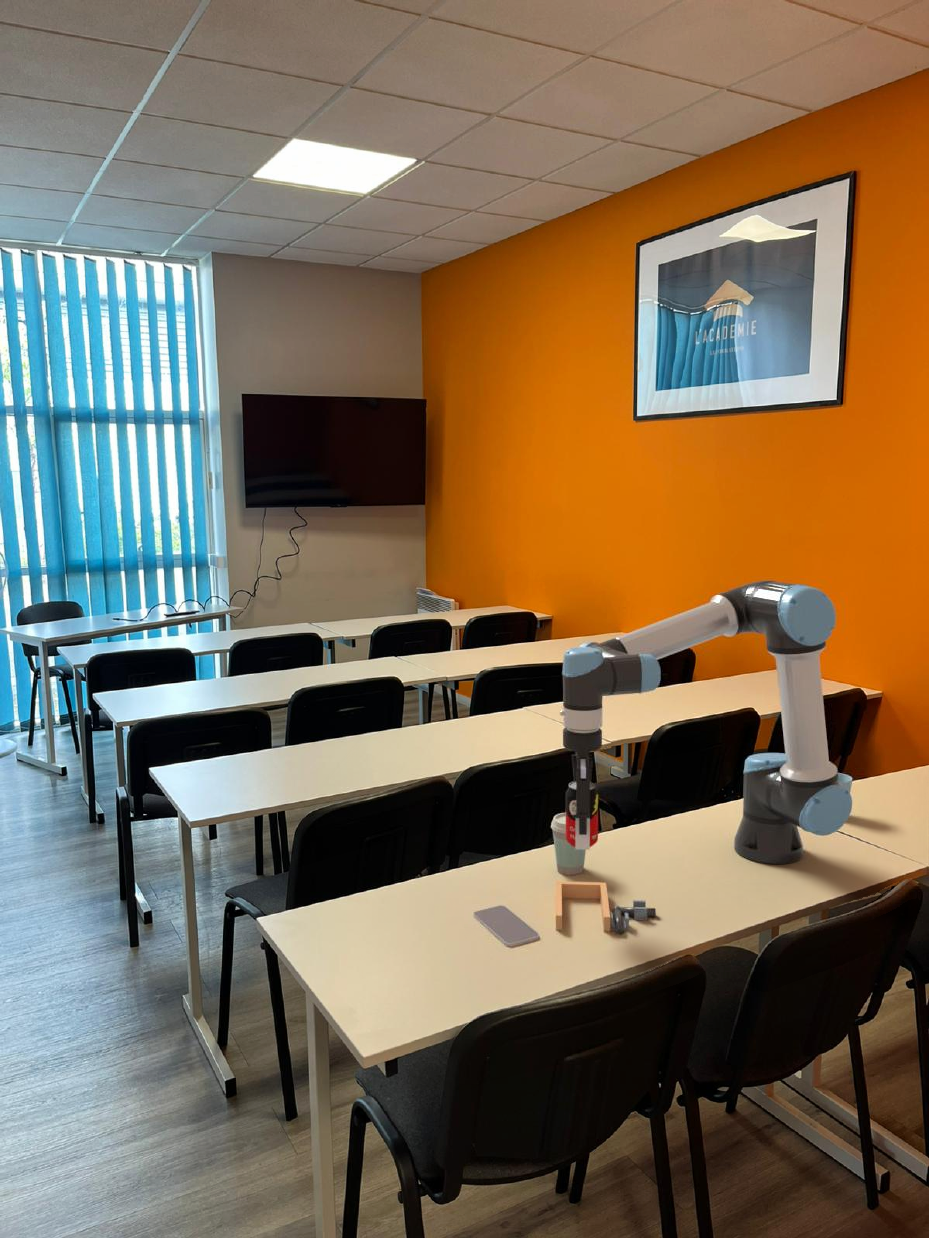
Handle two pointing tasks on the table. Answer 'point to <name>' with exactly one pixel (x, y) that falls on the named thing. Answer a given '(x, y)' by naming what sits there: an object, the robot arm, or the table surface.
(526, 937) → the smartphone
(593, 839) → the beverage can
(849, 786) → the cup
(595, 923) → the table surface
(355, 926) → the table surface
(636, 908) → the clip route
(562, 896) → the end holder
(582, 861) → the coffee cup
